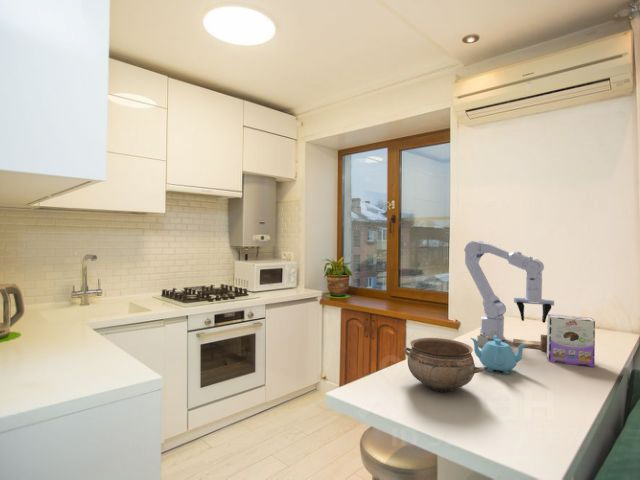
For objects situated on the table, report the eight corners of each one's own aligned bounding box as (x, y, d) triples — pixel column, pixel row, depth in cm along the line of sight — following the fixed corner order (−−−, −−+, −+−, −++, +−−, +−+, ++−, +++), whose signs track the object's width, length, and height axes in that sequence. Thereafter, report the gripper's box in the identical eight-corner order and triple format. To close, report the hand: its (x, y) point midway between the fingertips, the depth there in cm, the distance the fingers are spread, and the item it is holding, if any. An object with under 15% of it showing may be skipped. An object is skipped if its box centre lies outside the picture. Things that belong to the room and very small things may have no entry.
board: (515, 346, 154) (515, 342, 154) (513, 342, 160) (513, 338, 160) (557, 350, 149) (557, 346, 149) (554, 346, 155) (554, 343, 154)
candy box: (590, 362, 135) (592, 317, 135) (594, 367, 130) (596, 320, 130) (546, 356, 141) (547, 313, 141) (548, 361, 136) (549, 316, 136)
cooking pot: (386, 383, 113) (386, 342, 113) (419, 368, 126) (420, 332, 126) (467, 412, 95) (468, 364, 95) (496, 391, 108) (497, 349, 108)
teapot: (499, 378, 118) (499, 346, 118) (467, 365, 130) (467, 336, 130) (527, 373, 123) (528, 342, 123) (494, 360, 136) (494, 332, 135)
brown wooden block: (541, 351, 148) (542, 336, 148) (537, 345, 156) (538, 331, 156) (553, 352, 146) (554, 337, 146) (548, 346, 154) (549, 332, 154)
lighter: (477, 345, 154) (477, 326, 154) (478, 345, 155) (479, 325, 155) (495, 349, 149) (495, 329, 149) (496, 348, 150) (497, 329, 150)
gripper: (515, 288, 155) (514, 321, 155) (556, 291, 150) (555, 325, 150) (513, 286, 162) (512, 318, 162) (552, 289, 156) (551, 321, 157)
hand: (533, 321), depth 156 cm, fingers open, 7 cm apart
